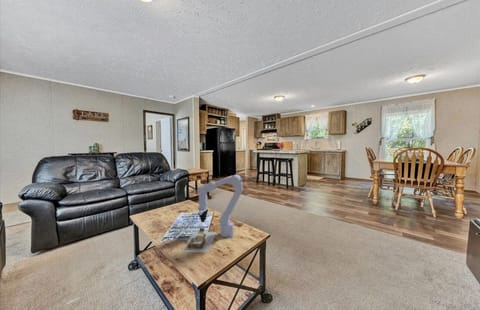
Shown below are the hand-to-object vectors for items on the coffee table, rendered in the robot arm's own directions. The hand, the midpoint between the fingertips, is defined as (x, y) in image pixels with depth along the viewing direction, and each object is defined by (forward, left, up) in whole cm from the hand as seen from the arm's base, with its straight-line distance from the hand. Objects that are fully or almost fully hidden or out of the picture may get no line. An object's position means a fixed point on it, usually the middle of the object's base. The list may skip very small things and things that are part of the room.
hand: (203, 220), depth 124 cm
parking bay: (0, +15, -9) cm, 18 cm away
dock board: (-1, +11, -9) cm, 14 cm away
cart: (0, +7, -9) cm, 11 cm away
